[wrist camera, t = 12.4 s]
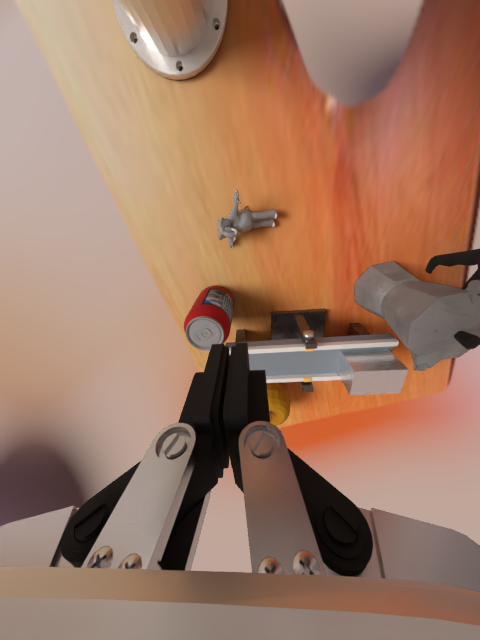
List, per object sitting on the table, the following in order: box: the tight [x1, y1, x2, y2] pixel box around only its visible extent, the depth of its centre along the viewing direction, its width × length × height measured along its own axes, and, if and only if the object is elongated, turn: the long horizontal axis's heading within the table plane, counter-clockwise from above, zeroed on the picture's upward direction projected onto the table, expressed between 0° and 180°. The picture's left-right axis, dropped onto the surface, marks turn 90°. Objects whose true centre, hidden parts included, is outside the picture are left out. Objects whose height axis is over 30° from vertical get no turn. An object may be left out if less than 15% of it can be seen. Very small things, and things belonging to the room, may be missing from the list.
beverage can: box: [184, 286, 234, 350], centre depth 35 cm, size 7×7×12 cm
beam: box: [225, 334, 399, 383], centre depth 35 cm, size 7×26×2 cm, turn 95°
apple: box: [267, 383, 290, 426], centre depth 46 cm, size 8×8×9 cm
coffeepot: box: [354, 249, 480, 371], centre depth 29 cm, size 15×9×18 cm, turn 171°
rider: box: [337, 348, 409, 395], centre depth 32 cm, size 4×7×5 cm, turn 95°
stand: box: [236, 309, 370, 392], centre depth 38 cm, size 11×24×11 cm, turn 95°
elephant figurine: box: [217, 190, 277, 248], centre depth 32 cm, size 10×6×9 cm
